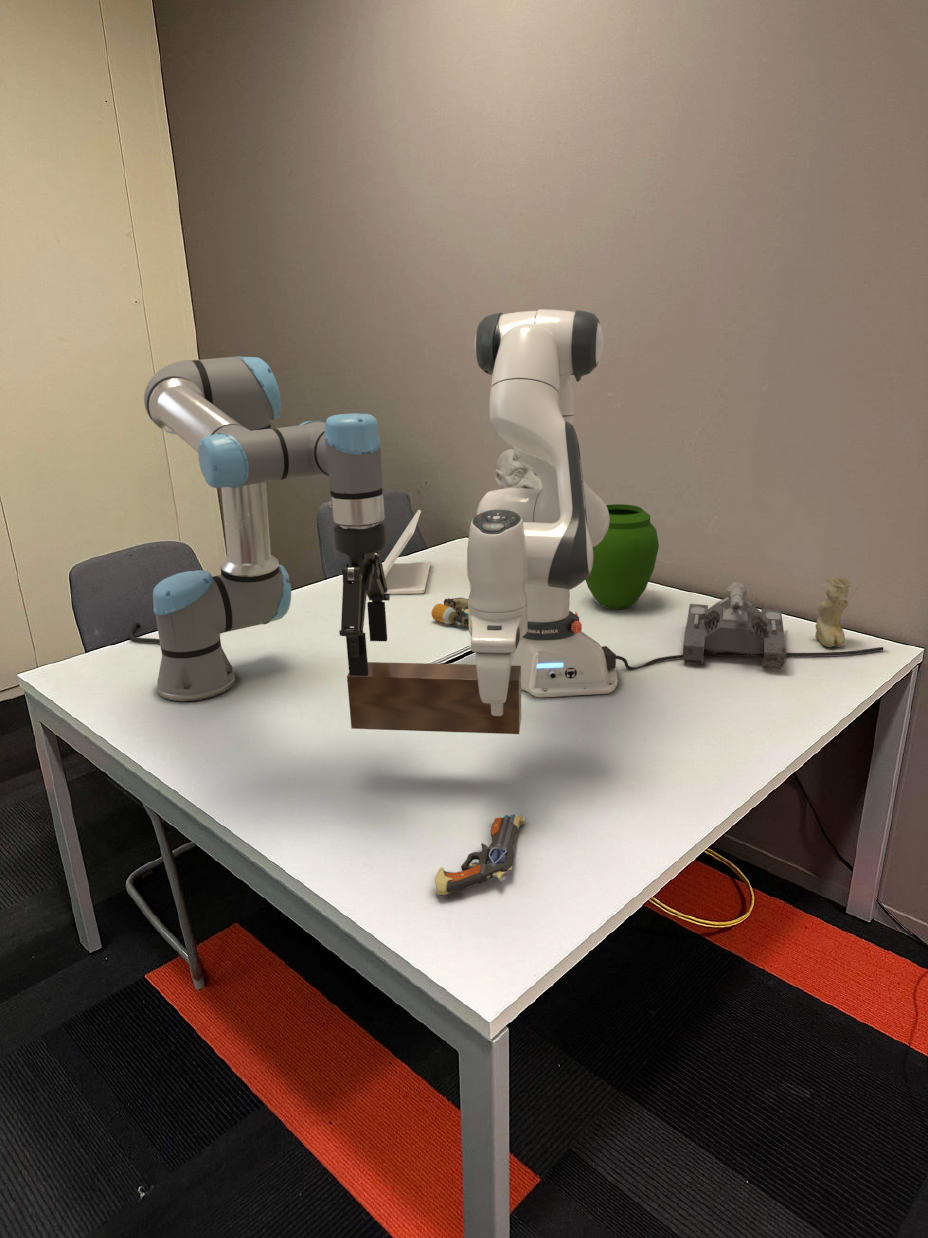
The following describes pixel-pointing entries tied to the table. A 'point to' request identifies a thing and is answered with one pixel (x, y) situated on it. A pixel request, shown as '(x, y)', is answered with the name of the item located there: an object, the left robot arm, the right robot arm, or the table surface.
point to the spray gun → (452, 611)
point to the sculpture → (832, 613)
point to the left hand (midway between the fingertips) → (369, 657)
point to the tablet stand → (405, 567)
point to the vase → (623, 558)
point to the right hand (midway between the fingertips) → (499, 703)
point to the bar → (429, 699)
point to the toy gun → (484, 858)
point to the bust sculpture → (515, 473)
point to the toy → (735, 630)
